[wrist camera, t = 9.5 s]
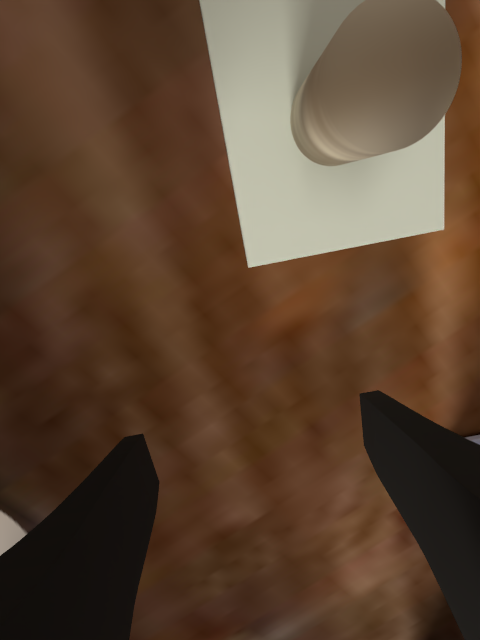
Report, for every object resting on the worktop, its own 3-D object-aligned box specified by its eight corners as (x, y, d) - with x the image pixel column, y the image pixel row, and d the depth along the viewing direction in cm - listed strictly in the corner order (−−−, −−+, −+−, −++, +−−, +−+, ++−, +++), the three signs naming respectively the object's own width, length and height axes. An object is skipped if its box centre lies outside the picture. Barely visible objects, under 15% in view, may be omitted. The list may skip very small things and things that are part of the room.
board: (430, 227, 19) (444, 229, 18) (247, 263, 19) (248, 267, 18) (428, -60, 15) (445, -82, 14) (197, -10, 15) (194, -27, 14)
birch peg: (382, 154, 16) (462, 134, 11) (298, 175, 17) (332, 166, 11) (374, 54, 15) (460, -30, 9) (282, 78, 15) (312, 10, 10)
